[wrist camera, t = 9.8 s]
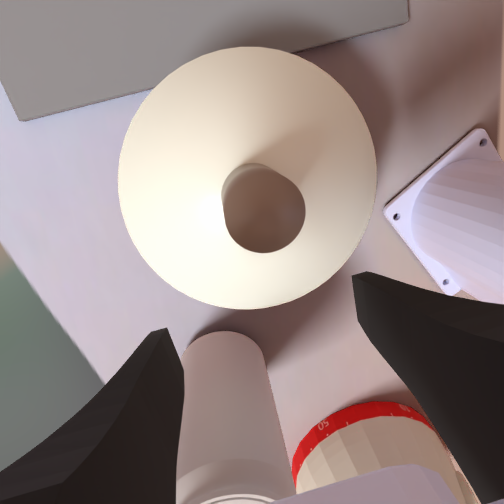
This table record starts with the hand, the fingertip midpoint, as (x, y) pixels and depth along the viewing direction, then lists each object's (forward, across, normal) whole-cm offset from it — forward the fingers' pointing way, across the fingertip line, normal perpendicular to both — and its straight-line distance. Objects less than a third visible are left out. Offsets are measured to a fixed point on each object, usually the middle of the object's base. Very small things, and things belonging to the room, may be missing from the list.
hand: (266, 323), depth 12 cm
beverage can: (+11, +4, +9) cm, 15 cm away
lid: (+7, -1, -4) cm, 8 cm away
